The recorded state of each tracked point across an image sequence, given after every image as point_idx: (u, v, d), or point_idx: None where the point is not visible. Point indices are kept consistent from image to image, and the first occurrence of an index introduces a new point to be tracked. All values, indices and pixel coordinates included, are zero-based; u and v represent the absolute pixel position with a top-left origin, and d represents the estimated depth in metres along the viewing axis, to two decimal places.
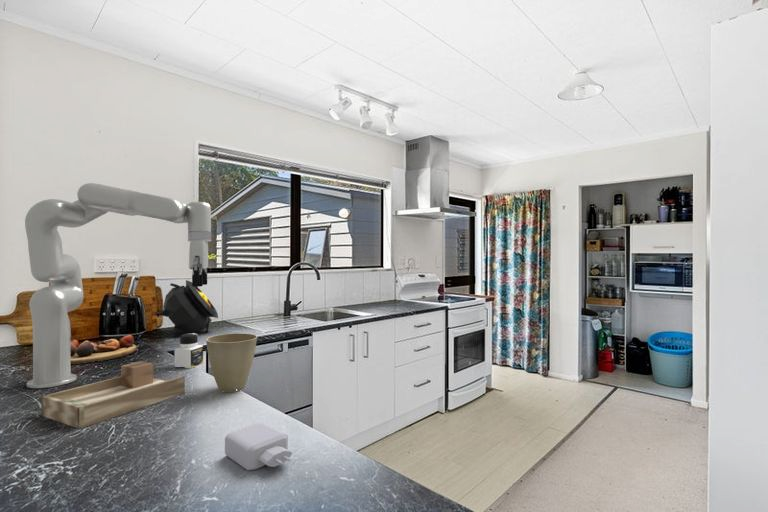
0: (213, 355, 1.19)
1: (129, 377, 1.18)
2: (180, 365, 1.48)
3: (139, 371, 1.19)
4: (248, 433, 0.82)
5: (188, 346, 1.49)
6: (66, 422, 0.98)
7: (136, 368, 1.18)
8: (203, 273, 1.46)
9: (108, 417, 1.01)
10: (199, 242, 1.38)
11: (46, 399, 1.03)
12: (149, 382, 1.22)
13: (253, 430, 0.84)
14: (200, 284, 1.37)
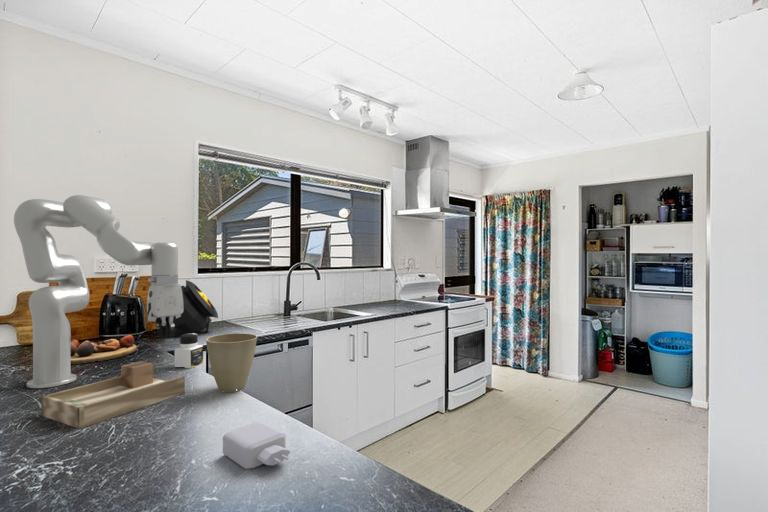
0: (213, 355, 1.19)
1: (129, 377, 1.18)
2: (180, 365, 1.48)
3: (139, 371, 1.19)
4: (246, 432, 0.83)
5: (188, 346, 1.49)
6: (66, 422, 0.98)
7: (136, 368, 1.18)
8: None
9: (108, 417, 1.01)
10: None
11: (46, 399, 1.03)
12: (149, 382, 1.22)
13: (251, 429, 0.84)
14: None
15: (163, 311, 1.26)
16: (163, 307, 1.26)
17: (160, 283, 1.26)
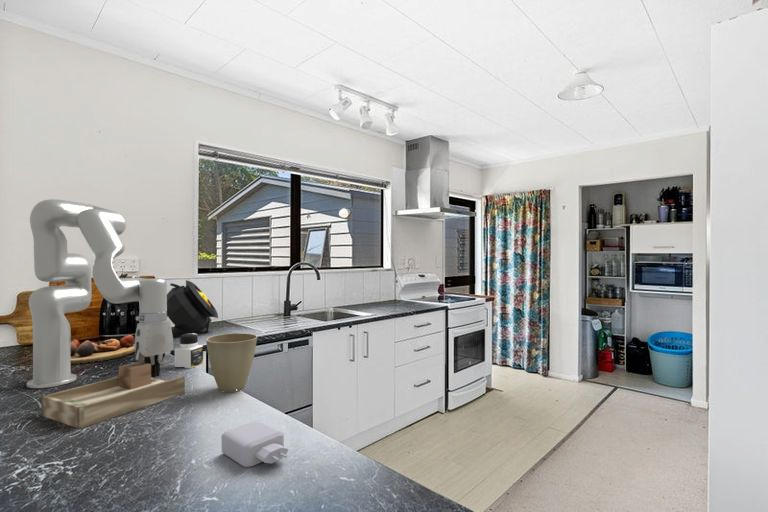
0: (213, 355, 1.19)
1: (127, 377, 1.17)
2: (180, 365, 1.48)
3: (137, 372, 1.18)
4: (245, 431, 0.83)
5: (188, 346, 1.49)
6: (66, 422, 0.98)
7: (134, 369, 1.17)
8: None
9: (108, 417, 1.01)
10: None
11: (46, 399, 1.03)
12: (147, 383, 1.21)
13: (249, 428, 0.85)
14: None
15: (151, 350, 1.22)
16: (151, 346, 1.22)
17: (148, 321, 1.22)
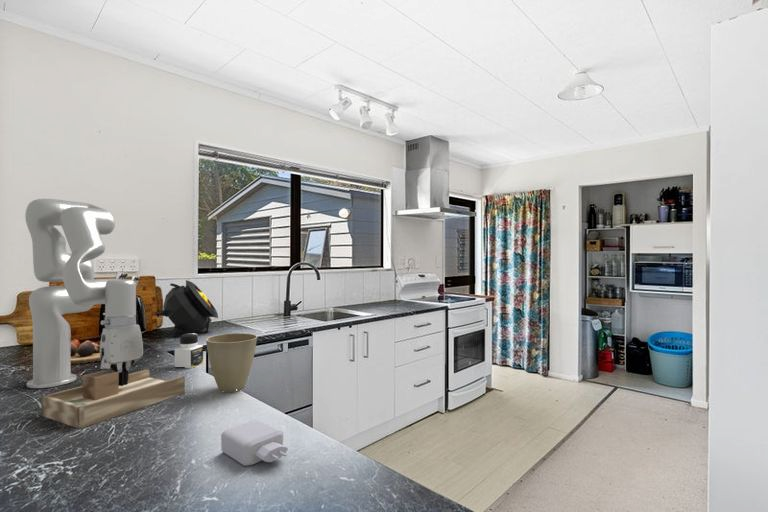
0: (213, 355, 1.19)
1: (91, 387, 1.08)
2: (180, 365, 1.48)
3: (102, 382, 1.09)
4: (244, 430, 0.84)
5: (188, 346, 1.49)
6: (66, 422, 0.98)
7: (99, 378, 1.08)
8: None
9: (108, 417, 1.01)
10: None
11: (46, 399, 1.03)
12: (114, 393, 1.12)
13: (249, 427, 0.85)
14: None
15: (118, 357, 1.13)
16: (118, 352, 1.14)
17: (114, 326, 1.13)
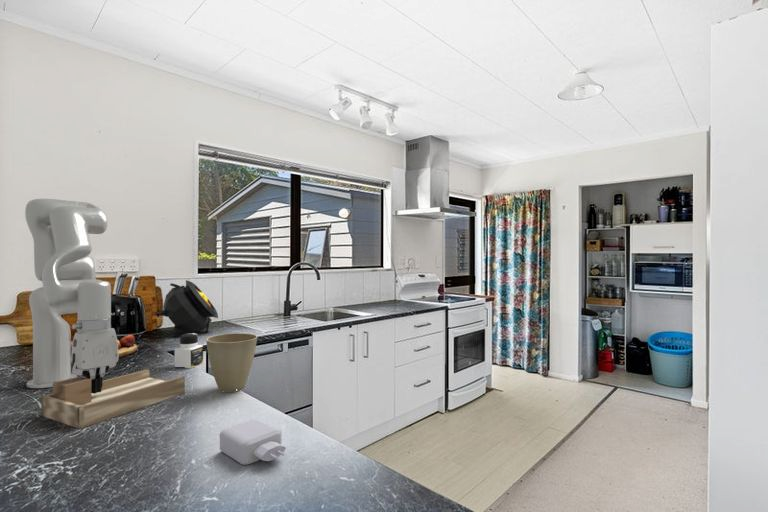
0: (213, 355, 1.19)
1: (61, 396, 1.02)
2: (180, 365, 1.48)
3: (73, 389, 1.03)
4: (243, 429, 0.84)
5: (188, 346, 1.49)
6: (66, 422, 0.98)
7: (69, 386, 1.02)
8: None
9: (108, 417, 1.01)
10: None
11: (46, 399, 1.03)
12: (86, 401, 1.05)
13: (247, 426, 0.86)
14: None
15: (90, 363, 1.07)
16: (90, 358, 1.07)
17: (87, 330, 1.07)
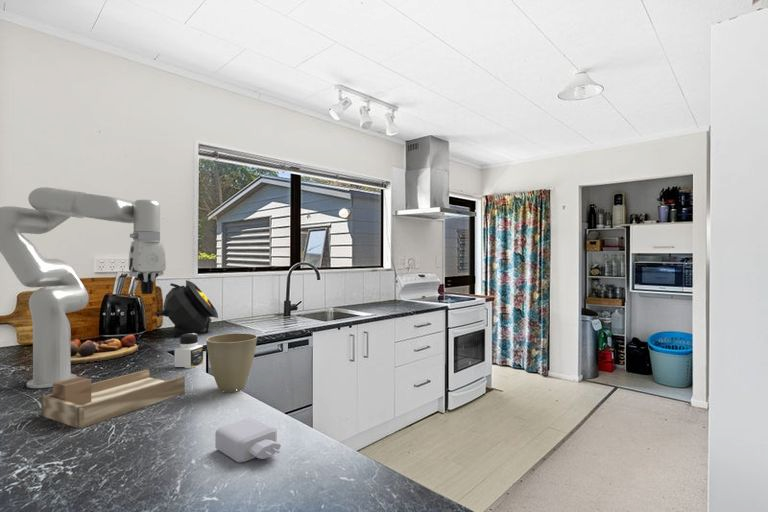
0: (213, 355, 1.19)
1: (61, 396, 1.02)
2: (180, 365, 1.48)
3: (73, 389, 1.03)
4: (238, 427, 0.85)
5: (188, 346, 1.49)
6: (66, 422, 0.98)
7: (69, 386, 1.02)
8: None
9: (108, 417, 1.01)
10: None
11: (46, 399, 1.03)
12: (86, 401, 1.05)
13: (243, 424, 0.87)
14: None
15: (145, 267, 1.28)
16: (145, 263, 1.28)
17: (142, 239, 1.28)
